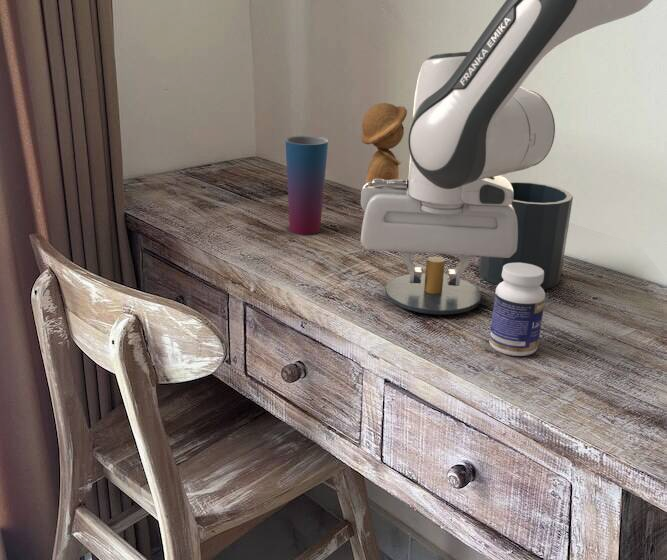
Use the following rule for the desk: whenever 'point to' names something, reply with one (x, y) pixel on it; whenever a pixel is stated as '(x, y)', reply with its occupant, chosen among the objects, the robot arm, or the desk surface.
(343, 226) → the desk surface
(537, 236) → the can
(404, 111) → the figurine
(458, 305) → the can lid
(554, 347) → the desk surface
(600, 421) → the desk surface
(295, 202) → the cup
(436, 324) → the desk surface
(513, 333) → the pill bottle
